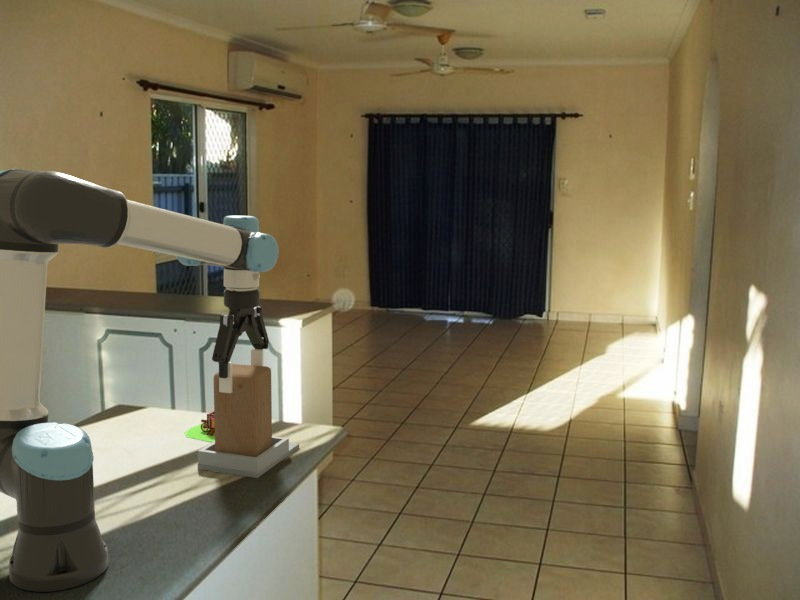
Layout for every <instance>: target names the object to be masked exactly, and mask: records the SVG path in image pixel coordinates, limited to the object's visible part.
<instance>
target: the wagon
mask: <svg viewBox="0 0 800 600" xmlns="http://www.w3.org/2000/svg"><path fill="white" fill-rule="evenodd" d="M200 422H201V423H200V424H198V425H196V426H193V427H190V428H189V429H188V430H186V431H185V432H184V434H186V433H187V434H186V435H185V437H186V438H188V437H189V438H190V439H193V440H198V441H204V442H207V443H208V442H209V443H212V442H214V441H215V420H214V411H212V412H209V413H207V414H206V419H204V418H203V419H201V420H200ZM187 436H188V437H187Z"/></svg>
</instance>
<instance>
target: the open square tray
mask: <svg viewBox="0 0 800 600" xmlns="http://www.w3.org/2000/svg"><path fill="white" fill-rule="evenodd" d="M289 439H290V438H289V437H280V436H274V435H272V447H270V448H269V449H267V450H266V451H264V452H263V453H262V454H260V455H259V456H257V457H250V456H243V455H236V454H229V453H222V452H215V441H214V442H209V444H207V445H206V446H204V447H202V448H200V449H198V450H197V462H198V463H197V469H198V470H202V471H209V472H217V473H223V474H229V475H233V476H234V475H236V476H242V477H247V478H248V477H249V478H254V479H255V478H256V479H258V478H259V477H261V476H262V475H263V474H265V473H266V472H268V471H269V470H270V469H272V468H274V467H275V466H277V464H279V463H280V462H282V461H283V460H285V458H287V457H289V456H290V455H291V454H293V453H294V452H295V451H297V450H298V449H300V443H296V442H290V440H289Z"/></svg>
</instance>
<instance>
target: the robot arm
mask: <svg viewBox="0 0 800 600" xmlns="http://www.w3.org/2000/svg"><path fill="white" fill-rule="evenodd" d="M59 245H81V246H83V245H84V246H85V245H86V246H95V247H100V248H104V249H108V248H112V247H114V246H116V245H120V246H127V247H130V248H135V249H136V248H137V249H140V250H146V251H151V252H156V253H160V254H164V255H165V254H166V255H171V256H175V257H176V259H177V260H178V262H179V263H180V264H182V265H183V266H187V267H189V266H194V267H199V266H212V267H213V266H214V267H221V268H223V287H225V289H224V290H223V305H224V306H225V307H226V308H228V310H229V311H228V314H223V313H222V314H220V318H219V328H218V331H217V336H216V340H215V344H214V349H213V352H212V353H213V354H212V357H211V360H212V361H213V362H215V363H218V372H219V392H223V393H232V364H233V362H232V361H231V359H232V355H233V353H234V351H235V348H236V345H237V343H238V339H239V337H240V336H242V335H243V333H244V332H245V334H246V335H247V337H248V339H249V341H250V344H251V345H252V347H253V348H251V349H250V365H252V366H264V350H268V348H269V342H270V340H269V339H270V338H269V336H268V332H267V329H266V326H265V325H266V324H265V320H264V316H263V308H262V306H260V289H258V288H259V286H260V278H261V274H260V272H261V273H265V272H269V271H271V269H273V268H274V267H275V266H276V264H277V261H278V258H279V254H280V251H279V250H280V248H279V245H278V242H277V240H276V238H275V237H274V236H272V235H271V234H269V233H263V232H260V221H259V219H258V218H257V217H256V216H253V215H239V214H238V215H226V216H224V217H223V222H222V223H218V222H214V221H212V220H207V219H203V218H199V217H194V216H191V215H188V214H183V213H179V212H176V211H172V210H168V209H163V208H160V207H157V206H153V205H149V204H145V203H142V202H137V201H134V200H130V199H127V197H126V196H125V194H124V193H122V191H120V190H116V189H113V188H112V189H111V188H108V187H105V186H102V185H100V184H96V183H93V182H91V181H88V180H84V179H81V178H78V177H75V176H74V175H73V176H72V175H70V174H66V173H63V172H60V171H59V172H58V171H54V170H51V171H50V170H49V171H48V170H47V171H46V170H43V171H42V170H31V169H22V168H11V169H7V170H0V493H2V494H4V495H6V496H9V497H10V498H13V499H14V500H16V514H17V528H18V531H17V534H16V538H15V541H14V544H13V545H14V546H13V549H12V553H11V557H10V560H9V563H8V574H9V575H8V576H9V581H10V583H11V584H12V585H13V586H15V587H16V588H19V589H21V590H24V591H28V592H38V593H39V592H40V593H41V592H42V593H44V592H45V593H46V592H48V593H49V592H57V591H58V592H59V591H64V590H68V589H72V588H75V587H79V586H82V585H84V584H88V583H90V582H92V581H93V580H95V579H98V577H99V576H101V575H102V574H103V573H104V572H105V571H106V570H107V568H108V566H109V550H108V546H107V544H106V542H105V541H104V540H103V537H102V533H101V531H100V528H99V526H98V523H97V521H96V514H95V513H96V511H95V508H96V506H95V485H94V465H93V462H94V452H93V448H92V442H91V438H90V436H89V434H88V433H87V432H86V431H85V430H83V429H82V428H81V427H78V426H76V425H73V424H69V423H58V422H49V410H48V409H47V407H46V406H44V405H43V404H42V403H41V400H40V398H41V381H42V368H43V367H42V365H43V363H42V362H43V348H44V347H43V346H44V344H43V343H44V330H45V329H44V328H45V314H46V313H45V312H46V295H47V293H46V292H47V282H48V281H47V279H48V278H47V277H48V264H49V262H50V261H51V260H52V259H53V258H55V257H56V256H57V255H58V253H59Z"/></svg>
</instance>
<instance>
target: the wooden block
mask: <svg viewBox="0 0 800 600" xmlns="http://www.w3.org/2000/svg"><path fill="white" fill-rule="evenodd" d="M271 369H272V368H271V367H269V366H266V365H265V366H264V365H263V366H252V365H251V364H250V365H249V364H237V363H236V364H235V363H232V393H223V392H219V371H218V372H216V373H214V375H213V412H214V420H215V452H222V453H229V454H236V455H243V456H250V457H257V456H259V455H260V454H262V453H263V452H264V451H266V450H267V449H269V448H270V447H272V436H273V420H272V417H273V416H272V415H273V413H272V412H273V410H272V370H271Z"/></svg>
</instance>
